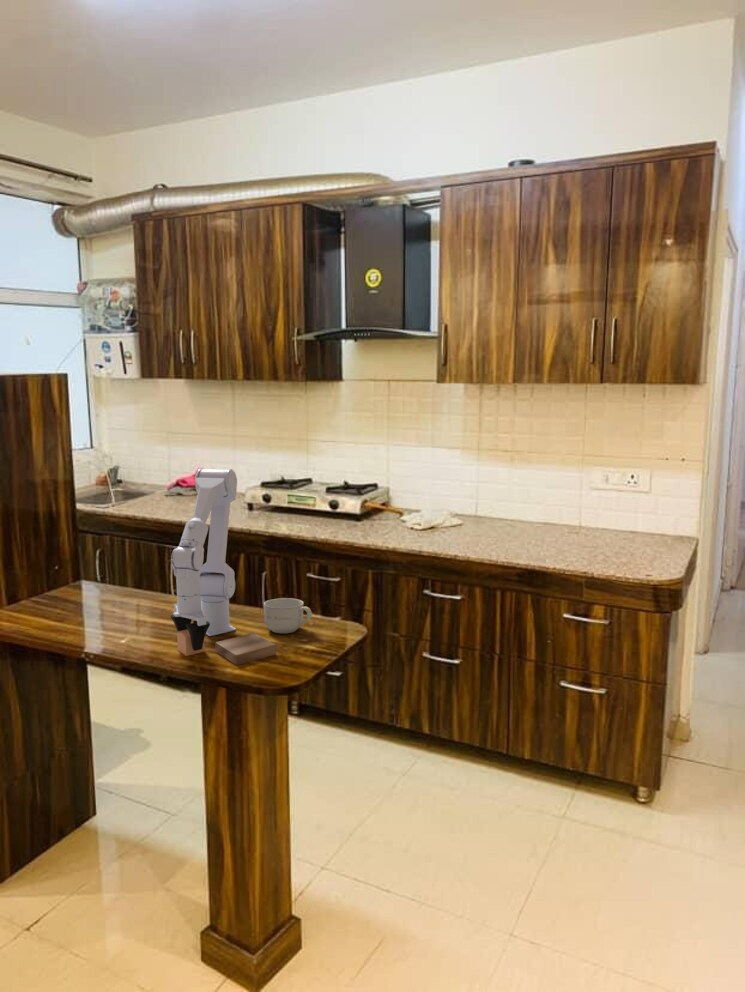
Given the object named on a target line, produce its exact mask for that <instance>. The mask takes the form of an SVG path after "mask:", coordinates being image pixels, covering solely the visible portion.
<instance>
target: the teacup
mask: <svg viewBox="0 0 745 992" xmlns="http://www.w3.org/2000/svg"><path fill="white" fill-rule="evenodd" d="M263 611H264V613H263V614H264V625H265V626H266V627H267V628H268V629H269V630H270V631H271V632H273V633H275V634H290V633H294V632H296V631H297V630H298V629H299V628H300V627H303V625H304V624H306V623H307V622H309V621H310V620H311V618H312V616H313V614H312V610H311V608H310V607H308V606H306V605H305V606H304V601H303V600H301V599H298V598H293V597H292V598H291V597H290V598H287V597H282V598H274V599H272V598H271V599H269V600H266V601H264V602H263ZM304 611H305V612H306V615H307V616H306V617H305V619H304Z"/></svg>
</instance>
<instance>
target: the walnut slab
mask: <svg viewBox="0 0 745 992" xmlns="http://www.w3.org/2000/svg"><path fill="white" fill-rule="evenodd" d="M214 643H215V645H214V647H215V653H216V652H217V653H216V654H218V655H220V656H221V657H223V658H224V659H225V660H228V661H229V662H231V663H233V664H234V665H235V666H238V665H239V666H240V665H243V664H246V663H250V662H253V661H256V660H261V659H265V658H268V657H272V656H275V655H277V652H276V651H277V647H276V644H275V643H273V642H271V641H270V640H268V639H266V638H264V637H262V636H260V635H258V634H257V633H255V632H251V633H248V634H244V635H238V636H236V637H232V638H231V637H230V638H228V639H224V640H219V641H216V642H214Z"/></svg>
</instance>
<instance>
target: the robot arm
mask: <svg viewBox="0 0 745 992" xmlns="http://www.w3.org/2000/svg"><path fill="white" fill-rule="evenodd" d="M194 485H195V490H196V493H197V495H196V498H195V499H196V500H195V506H194V510H193V515H192V519H190V520H188V521H187V522H186V523H185V525H184V529H183V532H182V536H181V538H180V542H179V544H178V546H177V547H176V548H174V549H173V550H172V553H171V557H170V558H171V559H170V565H171V567H172V570H173V575H174V577H175V579H176V580H175V581H176V597H177V598H176V599H177V600H176V601H177V603H174V604H173V611H174V612H173V614H171V615H170V619H171V620H172V623H173V624H174V625H175V629H176V633H177V632H178V631H182V630H187V629H188V631H189V634H190V637H191V643H192V648H193V650H194V651H197V650H201V649H202V646H203V642H204V643H205V637H206V635H207V636H209V637H212V636H217V635H222V634H225V633H230V632H234V631H236V630H237V628H235V627H234V626H232V625H231V624H230V622H231V621H230V599H231V598H232V597H233V596H234V593H235V591H236V580H235V579H236V578H235V571H234V569H233V568H232V567H230V566H229V564H228V563H226V557H227V556H226V555H227V547H228V546H227V545H228V533H229V522H230V521H229V520H230V511H231V510H230V509H231V503H232V502H233V501H235V500H236V497H237V487H238V478H237V474H236V472H235V471H234V470H233V469H230V468H229V469H221V468H219V469H218V468H217V469H215V468H204V467H203V468H198V470H197V471H196V474H195V477H194ZM209 516H210V519H209V522H210V523H209V526H208V525H207V524H206V523H207V521H208V518H209ZM208 532H209V533H208ZM207 535H208V542H207V543H208V544H207V552H206V554H207V555H206V562H205V563H204V557H205V556H204V553H205V548H204V544H205V541H206V538H207ZM211 573H213V574H211ZM217 573H218V574H217ZM192 621H193V622H192Z"/></svg>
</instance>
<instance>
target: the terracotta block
mask: <svg viewBox="0 0 745 992" xmlns="http://www.w3.org/2000/svg"><path fill="white" fill-rule="evenodd" d="M176 636H177V639H176V640H177V651H178V652H179V653H181V654H182V655H184V656H186V657H188V656H192V655H197V654H200V653H204V652H205V645H206V644H205V641H204V642H203V646H202V649H201V650H197V651H194V650H193V648H192V643H191V637H190V634H189V631H188V629H187V630H182V631H178V632H177V631H176Z"/></svg>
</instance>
